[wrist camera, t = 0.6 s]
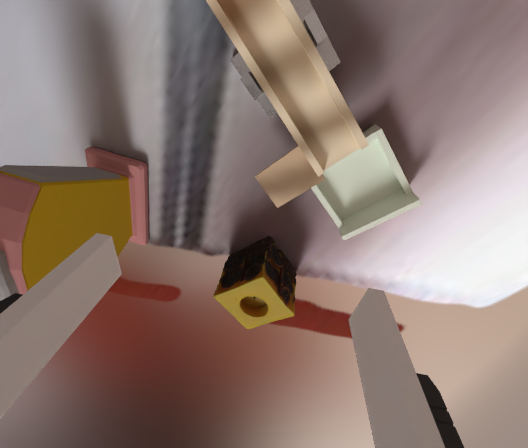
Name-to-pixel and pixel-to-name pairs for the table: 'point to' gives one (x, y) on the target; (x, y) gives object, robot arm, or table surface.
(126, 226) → the pink yellow-faced device
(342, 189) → the tray
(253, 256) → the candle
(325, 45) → the fulcrum
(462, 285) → the table surface
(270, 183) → the beige piece
